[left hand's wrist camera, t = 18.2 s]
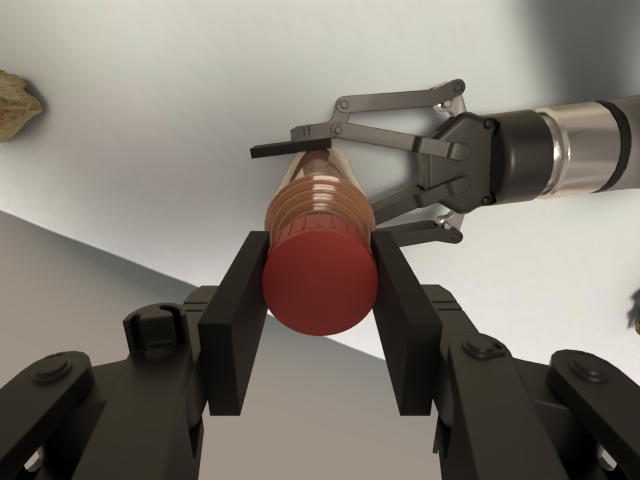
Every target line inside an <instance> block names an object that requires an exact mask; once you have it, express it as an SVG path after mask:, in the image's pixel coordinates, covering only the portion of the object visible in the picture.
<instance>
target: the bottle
mask: <svg viewBox="0 0 640 480" xmlns="http://www.w3.org/2000/svg"><path fill="white" fill-rule="evenodd" d="M331 146H332V148H328V149H321V150H313V151H305V152H298V153H297V155H296V156H295V158H294V160H293V162H292V164H291V166H290V168H289V169H288V171H287V173H286V175H285V177H284V179H283V181H282V183H281V184H280V186H279V188H278V190H277V192H276V194H275V196H274V198H273V199H272V201H271V203H270V205H269V207H268V210H267V213H266V218H265V231H269V233H270V245H271V242H272V240H274V239H275V238H276V236H277V235H278V234H279V231H280V229H283V228H284V227H285V226H286V225H288V224H289V223H290V221H292V220H293V221H294V220H296V219H298V218H301V217H303V216H304V215H306V216H307V215H312V214H318V213H320V214H328V215H332V214H334V216H337V217H340V218H342V219H344V220H346V219H347V220H348V222H350V223H351V224H353V225H354V226H355V227H356V228H357V227H358V228H359V230H360V232H361V233H362V234H363V236H364V237H365V238H367V240H368V243H369V245H370V239H371V231H376V223H375V216H374V213H373V209H372V207H371V205H370V203H369V201H368V199H367V197H366V195H365V193H364V192H363V190H362V188H361V186H360V184H359V182H358V180H357V179H356V177H355V175H354V173H353V171H352V169H351V167H350V166H349V164H348V162H347V160H346V158H345V156H344V155H343V153H342V152H341V151H340V150H339V149H338V148H337V147H335V146H334V145H332V144H331Z"/></svg>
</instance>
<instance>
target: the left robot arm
mask: <svg viewBox="0 0 640 480" xmlns="http://www.w3.org/2000/svg"><path fill="white" fill-rule="evenodd" d="M269 248H270V233H269V231H250V233H249V235H248V237H247V238H246V240H245V242H244V243H243V245H242V247H241V249H240V250H239V252H238V254H237V256H236V257H235V259H234V261H233V263H232V264H231V266H230V268H229V270H228V271H227V273H226V275H225V277H224V278H223V280H222V282H221V283H220V285H219V286H201V287H199V288H198V289H196V290H195V291H193V292H192V293H190V294H189V296H188V297H187V299H186V300H185V301H184V304H182V306H181V305H179V304H175V303H158V304H152V305H148V306H145V307H143V308H140V309H137V310H136V311H134V312H132V313H131V314H129V315H128V316H127V317H126V318H125V319H124V320H123V325H124V329H125V334H126V338H127V343H128V347H129V351H130V353H129V355H128V357H127V359H126V360H122V361H118V362H113V363H108V364H104V365H99V366H94V367H92V365H91V362H90V358H89V356H87V355H86V354H85V353H83V352H78V351H69V352H60V353H56V354H52V355H49V356H47V357H45V358H43V359H41V360H38V361H36V362H34V363H33V364H31V365H30V366H28V367H27V368H25V369H24V370H22V371H21V372H20V373H19V374H18V375H16V376H15V377H14V378H13V379H12V380H10V381H9V382H8V383H7V384H6V385H4V386H3V387H2V388H1V389H0V480H198V476H199V468H200V459H201V450H202V442H203V434H204V427H203V420H202V413H203V411H204V408H205V405H206V403H207V400H208V404H209V411H210V416H240V413H241V410H242V406H243V402H244V398H245V394H246V391H247V387H248V383H249V379H250V375H251V371H252V368H253V364H254V360H255V356H256V352H257V349H258V345H259V341H260V337H261V333H262V330H263V326H264V322H265V318H266V314H267V311H268V307H267V305H266V303H265V301H264V295H263V279H262V272H263V269H264V265H265V263H266V260H267V257H268V256H267V253H268V251H269ZM370 248H371V251H372V254H373V257H374V260H375V262H376V268H377V271H378V283H377V298H376V301H375V303H374V305H373V307H372V309H373V313H374V317H375V321H376V325H377V329H378V332H379V336H380V340H381V344H382V348H383V351H384V355H385V359H386V363H387V367H388V370H389V374H390V378H391V382H392V386H393V390H394V393H395V397H396V401H397V405H398V409H399V412H400V415H401V416H430V413H431V406H432V399H433V400H434V403H435V405H436V408H437V411H438V420H437V427H436V433H435V440H434V446H433V453H436V454H437V453H438V450H439V458H440V467H441V475H442V480H640V386H639V385H637V384H636V383H635V382H634V381H633V380H631V379H630V378H629V377H628V376H627V375H625V374H624V373H623V372H622V371H621V370H619V369H618V368H617V367H615V366H614V365H612V364H611V363H609V362H608V361H606V360H604V359H602V358H599V357H597V356H595V355H594V354H591V353H586V352H583V351H578V350H568V349H565V350H560V351H556V352H555V353H554V354H553V355H552V356H551V359H550V363H549V365H545V364H540V363H535V362H530V361H525V360H521V359H517V358H513V357H512V355H511V352H510V351H509V350H508V348H507V347H506V346H505V345H504V344H503V343H501V342H500V341H498V340H497V339H495V338H493V337H491V336H488V335H486V334H482V333H479V332H478V330H477V329H476V327H475V326H474V325H473V323H472V322H471V320H470V319H469V318H468V316H467V315H466V313H465V312H464V311H462V308H461V306H460V305H459V304H458V303H457V301H456V299H455V298H454V297H453V295H452V294H451V292H449V291H448V290H446V289H445V288H443V287H442V286H440V285H420V283H419V281H418V279H417V278H416V276H415V274H414V273H413V271H412V269H411V267H410V266H409V264H408V262H407V260H406V259H405V257H404V255H403V253H402V252H401V250H400V248H399V246H398V245H397V243H396V241H395V240H394V238H393V236H392V234H391V233H390V231H371V239H370ZM604 449H605V450H606V451H607V452H608V453H609V455H610V456H611V457H612V458H613V459H614V460H615V461H616V463H617V465H616V467H615V468H612V467H611V466H610V465H609V464H608V463H607V462H606V461H605V459H604V458H603V457H602V453H603V451H604ZM36 451H37V452H38V455H39V458H38V459H37V461H36V462H35V463H34V464H33V465H32V466H31V467H30V468H28V469H27V470H26V469H25V467H24V465H25V463H26V462H27V461H28V460H29V459H30V458H31V456H32V455H33V454H34V453H35V452H36Z"/></svg>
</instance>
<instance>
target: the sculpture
mask: <svg viewBox="0 0 640 480" xmlns="http://www.w3.org/2000/svg"><path fill="white" fill-rule="evenodd" d="M26 88H27V86H26V84H25V83H24V82H23V81H22V80H21V78H20V77H19V76H17V75H14V74H7V73H6V72H5V71H3V70H0V143H1V142H4V141H7V140H9V139H10V138H12V137H13V136H14V135H15V134H16V133H17V132H18V131H19V130H20V129H21V128H22V127H23V126H24V125H25V123H26V122H27V121H28V120H29V119H30V118H32V117H33V116H35V115H38V114H40V113H41V112H42V110H43V108H42V106H41V104H40V103H39V101H38V100H37V99H36V98H35V97H34V96H31V95H29V94H28V93H26V92H25V90H26Z"/></svg>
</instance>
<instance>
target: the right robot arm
mask: <svg viewBox="0 0 640 480" xmlns="http://www.w3.org/2000/svg"><path fill="white" fill-rule="evenodd" d="M464 90H465V83H464V81H462V80H461V79H456V80H451V81H447V82H444V83H442V84H439V85H437V86H435V87H433V88H431V89H429V90H421V91H407V92H394V93H381V94H367V95H354V96H343V97H340V98H339V99H338V100H337V101H336V103H335V108H334V113H333V116H332V118H331V120H330V121H328V122H326V123H319V124H312V125H305V126H297V127H296V128H294V129H292V130H291V138H292V141H289V142H281V143H274V144H266V145H258V146H255V147H253V148H251V149H250V152H251V157H252V158H259V157H267V156H275V155H282V154H290V153H298V152H305V151H313V150H321V149H328V148H332V146H331V138H341V139H347V140H352V141H358V142H364V143H369V144H375V145H380V146H386V147H392V148H397V149H403V150H408V151H413V152H417V156H418V162H419V165H420V171H419V175H418V183H416V184H414V185H412V186H410V187H408V188H407V189H406V190H404V191H401V192H399V193H397V194H394V195H392V196H390V197H388V198H385V199H383V200H381V201H378V202H376V203H374V204H371V207H372V209H373V213H374V216H375V223H376V225H378V224H381V223H383V222H385V221H388V220H390V219H393V218H395V217H397V216H400V215H402V214H404V213H407V212H409V211H412V210H414V209H416V208H423V207H426V206H429V205H431V204H434V203H436V202H438V203H440V204H442V205H444V206H445V207H447V208H449V209H451V210H450V212H449V213H448V214H446V215H440V216H438V217H437V218H436V220H435V221H433V220H426V221H419V222H413V223H408V224H402V225H396V226H390V227H385V228H379V229H376V231H390V233H391V234H392V236H393V238H394V240H395V241H396V243H397V245H398V246H399V247H403V246H409V245H414V244H420V243H426V242H432V241H440V242H446V243H453V244H457V243H460V242H461V241H462V239H463V234H462V233H461V232H460V227H461V224H462V221H463V218H464V215H465V214H467V213H470V212H471V211H473V210H474V209H476V208H478V207H481V206H490V205H499V204H507V203H515V202H523V201H530V200H533V199H535V198H537V199H550V198H557V197H564V196H571V195H578V194H585V193H597V192H603V191H613V190H622V189H631V188H640V95H637V96H630V97H624V98H617V99H611V100H605V101H590V102H582V103H575V104H567V105H559V106H551V107H543V108H539V109H536V110H534V111H532V110H521V111H513V112H505V113H498V114H490V115H482V116H479V115H476V114H474V113H472V112H467V111H466V107H465V104H464V100H463V97H462V93H463V92H464ZM429 106H433V107H434V109H435V110H436V111H438V112H448V113H449V114H450V116H451V117H450V118H449V119H448V120H446V121H445V122H444V123H443V124H442V125H441V126H440V127H439V128H437V129H436V130H435V131H434V132H433V133H432V134H431V135H430V136H428V137H423V136H418V135H412V134H406V133H401V132H395V131H390V130H384V129H379V128H373V127H368V126H362V125H357V124H351V123H347V122H348V118H349V114H350V112H364V111H377V110H391V109H404V108H418V107H429Z"/></svg>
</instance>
